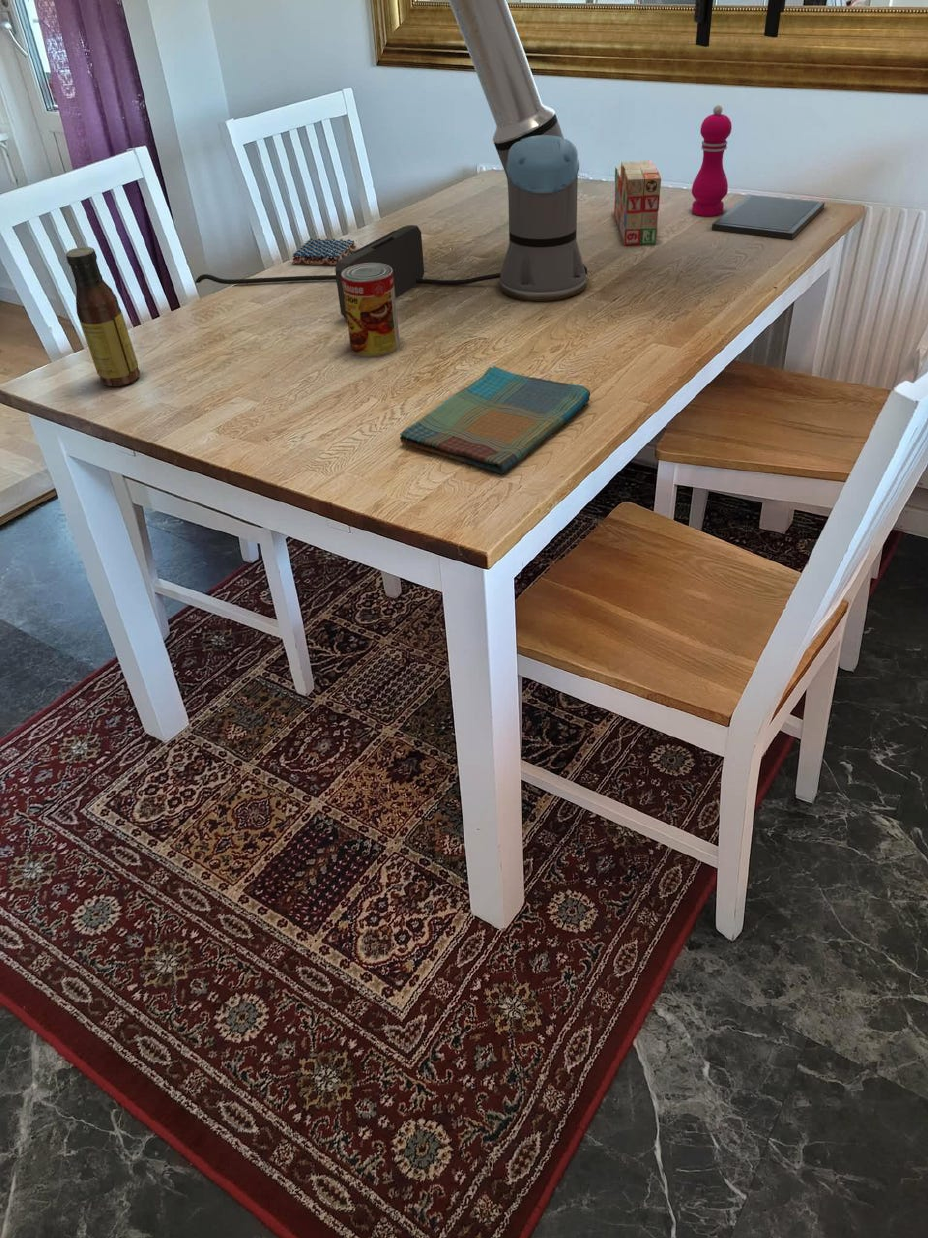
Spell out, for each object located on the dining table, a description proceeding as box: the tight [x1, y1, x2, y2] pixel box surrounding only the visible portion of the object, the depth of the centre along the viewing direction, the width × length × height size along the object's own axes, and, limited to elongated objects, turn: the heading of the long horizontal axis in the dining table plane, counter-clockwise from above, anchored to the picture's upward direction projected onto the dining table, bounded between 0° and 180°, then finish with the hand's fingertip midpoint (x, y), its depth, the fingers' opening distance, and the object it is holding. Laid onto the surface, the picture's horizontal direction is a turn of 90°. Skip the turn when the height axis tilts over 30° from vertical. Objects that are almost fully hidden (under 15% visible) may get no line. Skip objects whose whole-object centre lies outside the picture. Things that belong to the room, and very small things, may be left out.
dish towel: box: [399, 365, 591, 474], centre depth 132 cm, size 17×23×2 cm
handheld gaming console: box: [334, 224, 425, 320], centre depth 169 cm, size 23×3×10 cm, turn 149°
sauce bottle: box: [65, 246, 141, 387], centre depth 144 cm, size 7×6×20 cm
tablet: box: [711, 194, 826, 241], centre depth 196 cm, size 22×16×1 cm
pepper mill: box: [691, 104, 733, 217], centre depth 196 cm, size 7×7×20 cm
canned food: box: [341, 263, 401, 357], centre depth 152 cm, size 8×8×12 cm
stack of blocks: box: [613, 160, 662, 246], centre depth 193 cm, size 21×6×12 cm, turn 179°
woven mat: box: [291, 238, 357, 266], centre depth 191 cm, size 10×11×2 cm
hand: (736, 41), depth 161 cm, fingers open, 13 cm apart
